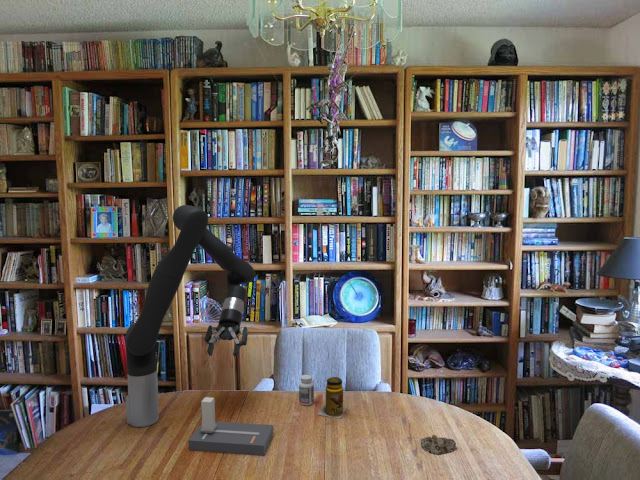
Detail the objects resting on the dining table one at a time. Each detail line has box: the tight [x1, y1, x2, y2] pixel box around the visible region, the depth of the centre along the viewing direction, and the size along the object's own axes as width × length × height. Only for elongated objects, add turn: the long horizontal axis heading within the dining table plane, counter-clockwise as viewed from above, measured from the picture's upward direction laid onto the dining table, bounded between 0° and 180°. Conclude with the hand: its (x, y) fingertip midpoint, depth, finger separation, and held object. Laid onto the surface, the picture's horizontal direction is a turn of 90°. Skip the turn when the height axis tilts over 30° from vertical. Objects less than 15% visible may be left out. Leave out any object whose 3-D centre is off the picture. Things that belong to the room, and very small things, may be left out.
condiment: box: [317, 376, 347, 419], centre depth 161 cm, size 7×8×12 cm
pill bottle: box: [298, 374, 315, 406], centre depth 169 cm, size 5×5×10 cm
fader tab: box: [200, 396, 217, 433], centre depth 143 cm, size 4×4×10 cm
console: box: [188, 420, 274, 456], centre depth 143 cm, size 23×12×3 cm, turn 83°
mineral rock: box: [419, 434, 457, 455], centre depth 139 cm, size 11×4×8 cm
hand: (222, 355), depth 155 cm, fingers open, 8 cm apart
